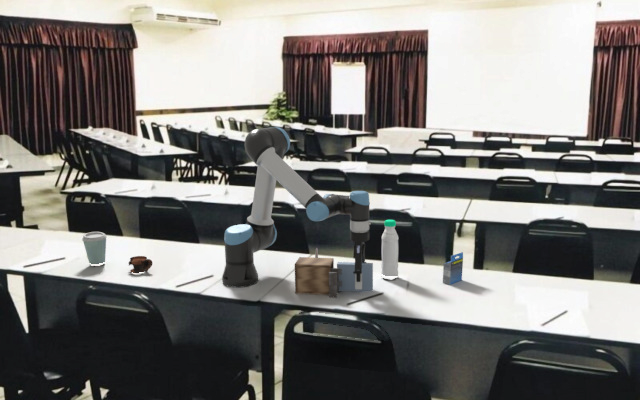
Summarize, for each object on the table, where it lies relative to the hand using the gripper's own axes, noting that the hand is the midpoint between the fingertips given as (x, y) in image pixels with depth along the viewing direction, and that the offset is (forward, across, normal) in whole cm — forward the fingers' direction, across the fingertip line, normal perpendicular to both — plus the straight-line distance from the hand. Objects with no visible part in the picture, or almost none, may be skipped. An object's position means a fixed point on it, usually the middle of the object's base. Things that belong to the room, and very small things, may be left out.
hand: (360, 284), depth 245 cm
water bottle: (+2, +17, -11) cm, 20 cm away
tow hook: (+3, +18, +20) cm, 27 cm away
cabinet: (+2, -4, +17) cm, 17 cm away
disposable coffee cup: (+2, +21, +125) cm, 127 cm away
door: (+2, 0, +2) cm, 3 cm away
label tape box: (+3, +15, -37) cm, 40 cm away
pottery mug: (+3, +14, +100) cm, 101 cm away
